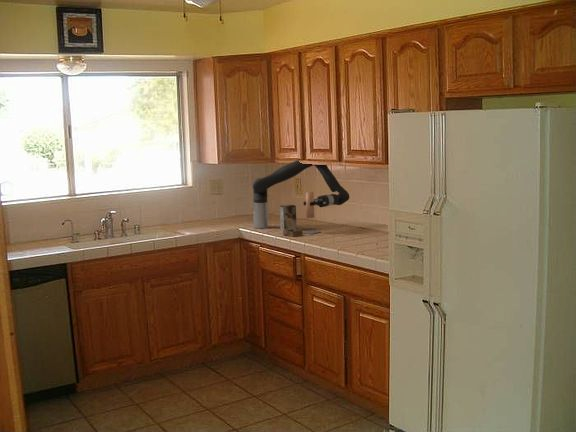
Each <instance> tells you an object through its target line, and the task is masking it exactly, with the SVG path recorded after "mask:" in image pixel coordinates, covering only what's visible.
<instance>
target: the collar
mask: <svg viewBox="0 0 576 432" xmlns="http://www.w3.org/2000/svg"><path fill="white" fill-rule="evenodd" d="M282 231H283V230H282ZM302 232H303V229H297V230H296V229H291V230H285V231H283V236H284V237H290V238H295V237H300V236H303V233H302Z"/></svg>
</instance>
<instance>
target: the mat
mask: <svg viewBox="0 0 576 432" xmlns="http://www.w3.org/2000/svg"><path fill="white" fill-rule="evenodd" d="M302 233H303V234H304V235H315V234H320V233H321V231H319V230H318V231H316V230H307V231H302Z"/></svg>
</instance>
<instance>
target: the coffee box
mask: <svg viewBox="0 0 576 432" xmlns="http://www.w3.org/2000/svg"><path fill="white" fill-rule="evenodd" d="M296 208H297V206H296V205H294V204H286V205H279V218H280V219H279V220H280V230H281V231H285V230H291V229H296V230H298V229H297V226H298V225H297V209H296Z"/></svg>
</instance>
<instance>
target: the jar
mask: <svg viewBox="0 0 576 432" xmlns="http://www.w3.org/2000/svg"><path fill="white" fill-rule="evenodd" d="M314 193H315V192H314V191H306V192H305V201H306V205H305V209H306V214H305V215H306V219H313V218H315V205H313V206H310V202H314V199H315V198H314V195H315V194H314Z"/></svg>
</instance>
